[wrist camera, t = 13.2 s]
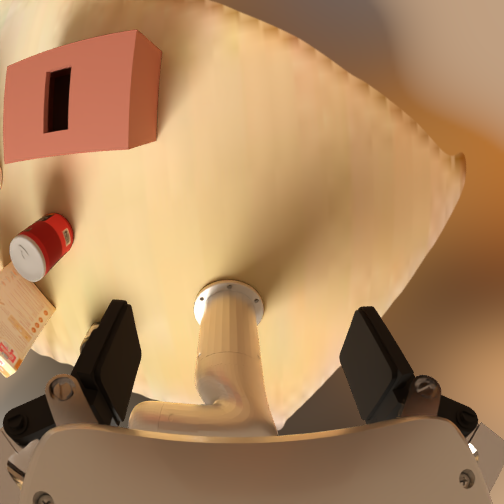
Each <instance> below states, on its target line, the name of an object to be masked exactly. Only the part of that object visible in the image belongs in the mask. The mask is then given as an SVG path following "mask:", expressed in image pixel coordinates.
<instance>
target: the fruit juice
mask: <svg viewBox="0 0 504 504" xmlns="http://www.w3.org/2000/svg"><path fill="white" fill-rule="evenodd" d="M1 184H2V171H1V167H0V188H1Z"/></svg>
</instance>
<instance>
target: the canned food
mask: <svg viewBox="0 0 504 504" xmlns="http://www.w3.org/2000/svg"><path fill="white" fill-rule="evenodd" d="M73 238H74V237H73V230H72V227H71V225H70V223H69V222H68V221H67V219H66V218H65V217H63V216H62V215H60V214H57V213H50V214H47V215H45V216H44V217H42V218H41V219H39V220H38V221H36V222H35V223H34V224H32V225H31V226H29V227H28V228H26V229H25V230H24V231H22V232H21V233H19V234H18V235H17V236H16V237H14V239H13V240H12V241H11V243H10V257H11V260H12V263H13V265H14V267H15V269H16V270H17V271H18V273H19V274H20V275H21V276H22V277H24V278H25V279H27V280H28V281H31V282H37V281H39V280H40V279H42V278H43V277H44V276H45V275H46V274H47V273H48V272H49V270H50V269H51V268H52V267H53V266H54V265H55V264H56V263H57V262H58V261H59V260H60V259H61V258H62V257H63V256H64V255H65V254H66V253H67V252H68V251H69V250H70V248H71V246H72V243H73Z"/></svg>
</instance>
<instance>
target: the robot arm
mask: <svg viewBox="0 0 504 504" xmlns="http://www.w3.org/2000/svg"><path fill="white" fill-rule="evenodd" d="M263 313H264V307H263V302H262V299H261V297H260V295H259V294H258V292H257V291H256V290H255V289H254V288H252V287H251V286H249V285H248V284H245V283H243V282H240V281H236V280H221V281H217V282H214V283H211V284H209V285H207V286H206V287H205V288H203V289H202V290H201V291H200V292H199V294H198V295H197V297H196V300H195V303H194V315H195V318H196V320H197V322H198V323H199V324H200V333H199V341H198V350H197V359H196V369H195V386H196V389H197V392H198V394H199V396H200V397H201V399H202V400H203V402H204V403H205V404H201V405H196V404H182V403H171V402H160V401H145V402H141V403H139V404H137V405H136V406H135V407H134V409H133V410H132V412H131V415H130V418H129V423H128V428H123V427H119V424H120V421H124V419H125V415H126V411H127V407H128V404H129V400H130V396H131V392H132V389H133V385H134V381H135V378H136V374H137V371H138V367H139V364H140V360H141V348H140V344H139V339H138V335H137V331H136V326H135V321H134V317H133V312H132V307H131V305H130V304H127V301H125V300H112V301H111V303H110V305H109V307H108V309H107V310H106V312H105V314H104V316H103V318H102V320H101V322H100V324H99V326H98V328H97V329H96V328H95V329H93V331H92V332H91V334H90V336H89V338H88V340H87V342H86V344H85V346H84V348H83V350H82V352H81V354H80V356H79V358H78V360H77V362H76V364H75V366H74V369H73V371H72V373H71V375H68V374H59V375H56V376H54V377H53V378H51V379H50V380H49V381H48V383H47V384H46V387H45V395H43V396H40V397H38V398H36V399H34V400H32V401H29V402H27V403H25V404H23V405H20V406H18V407H16V408H13V409H11V410H10V411H9V412H8V413H7V414H6V415H5V417H4V420H3V427H2V428H1V429H0V504H492V500H491V497H490V494H489V493H490V491H491V489H492V487H493V485H494V484H495V481H496V480H497V478H498V476H499V474H500V472H501V469H502V468H503V465H504V440H503V439H502V438H501V437H499V436H498V435H497V434H496V433H494V432H493V431H492V430H490V429H489V428H488V427H487V426H485V425H484V424H483V423H482V422H481V423H480V424H478V418H477V415H476V413H475V412H474V411H473V410H472V409H471V408H469V407H467V406H465V405H463V404H460V403H458V402H456V401H454V400H451V399H449V398H447V397H445V396H442V395H441V387H440V385H439V383H438V382H437V381H436V380H435V379H434V378H432V377H430V376H427V375H419V376H416V377H415V376H414V374H413V373H414V372H413V370H412V368H411V367H410V365H409V363H408V361H407V360H406V358H405V357H404V355H403V353H402V351H401V350H400V348H399V346H398V345H397V343H396V341H395V340H394V338H393V337H392V335H391V333H390V332H389V330H388V328H387V327H386V325H385V324H384V322H383V321H382V319H381V317H380V316H379V314H378V313H377V311H376V310H375V308H374V307H372V306H367V307H360V308H359V309H358V310H356V311H355V313H354V316H353V319H352V322H351V325H350V328H349V331H348V333H347V336H346V339H345V342H344V344H343V347H342V350H341V352H340V363H341V365H342V368H343V370H344V373H345V375H346V378H347V380H348V383H349V386H350V389H351V391H352V394H353V396H354V399H355V402H356V405H357V407H358V410H359V413H360V415H361V418H362V419H363V420H365V421H366V424H367V425H361V426H356V427H350V428H344V429H338V430H331V431H324V432H316V433H307V434H297V435H285V436H278V433H277V429H276V426H275V423H274V421H273V418H272V415H271V412H270V409H269V405H268V402H267V397H266V392H265V386H264V379H263V371H262V363H261V355H260V346H259V338H258V330H257V326H258V324H259V323H260V321H261V319H262V317H263Z"/></svg>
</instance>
